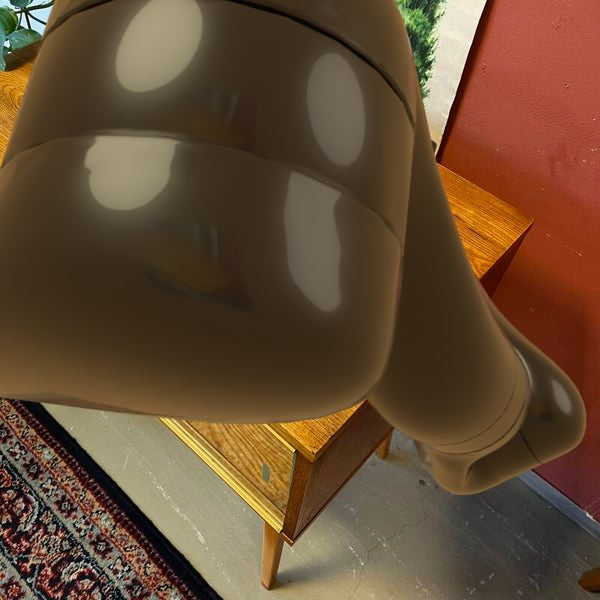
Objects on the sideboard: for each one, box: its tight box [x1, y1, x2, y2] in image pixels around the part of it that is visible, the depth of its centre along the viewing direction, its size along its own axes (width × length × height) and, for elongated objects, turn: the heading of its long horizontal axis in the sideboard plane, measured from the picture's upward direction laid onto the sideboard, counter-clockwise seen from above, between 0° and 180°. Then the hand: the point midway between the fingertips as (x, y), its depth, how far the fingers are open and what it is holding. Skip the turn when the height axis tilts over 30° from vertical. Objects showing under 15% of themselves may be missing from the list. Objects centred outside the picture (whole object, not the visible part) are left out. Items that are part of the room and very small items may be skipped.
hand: (328, 97), depth 61 cm, fingers closed on knife, 2 cm apart
